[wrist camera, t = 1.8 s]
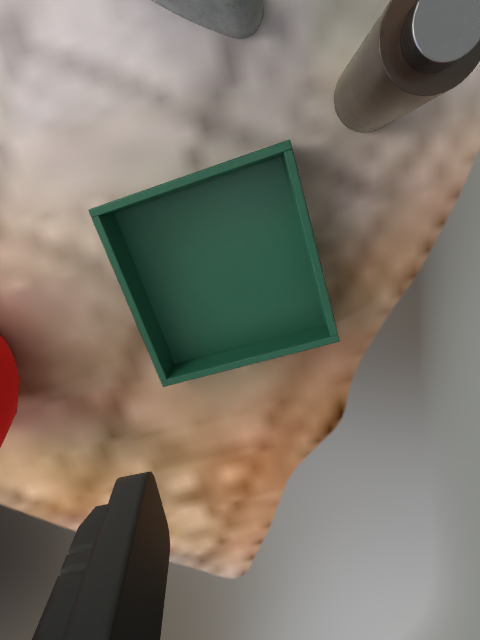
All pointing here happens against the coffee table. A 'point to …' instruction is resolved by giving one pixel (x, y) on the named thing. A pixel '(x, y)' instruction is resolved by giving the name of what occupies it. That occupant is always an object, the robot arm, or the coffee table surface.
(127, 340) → the coffee table surface
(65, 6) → the coffee table surface
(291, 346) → the tray
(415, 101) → the pepper mill
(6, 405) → the vase
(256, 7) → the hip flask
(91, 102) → the coffee table surface
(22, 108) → the coffee table surface
